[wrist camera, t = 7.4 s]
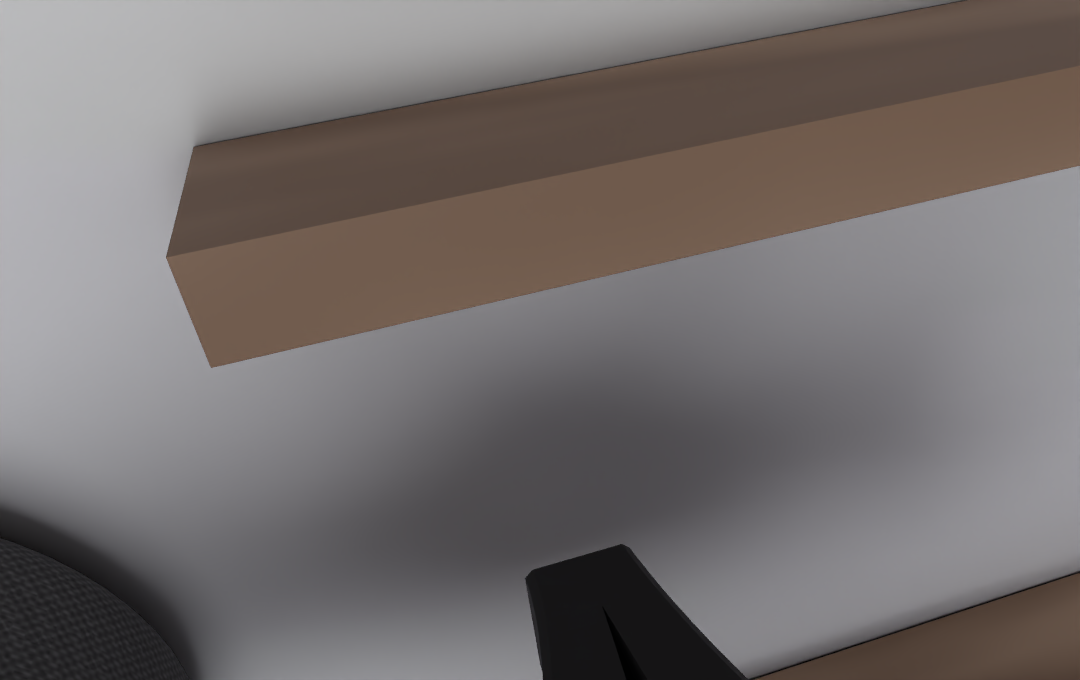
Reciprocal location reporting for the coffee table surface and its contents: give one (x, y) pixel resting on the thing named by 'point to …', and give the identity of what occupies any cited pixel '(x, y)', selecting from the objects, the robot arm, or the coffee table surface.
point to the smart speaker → (71, 626)
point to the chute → (646, 211)
